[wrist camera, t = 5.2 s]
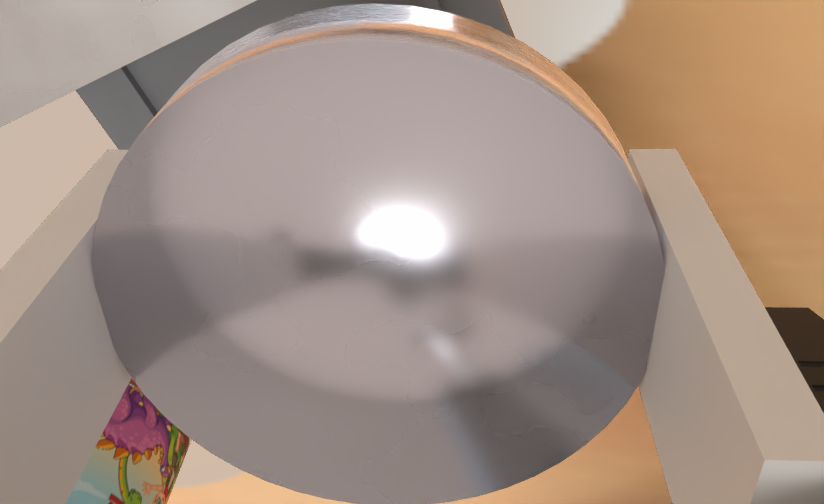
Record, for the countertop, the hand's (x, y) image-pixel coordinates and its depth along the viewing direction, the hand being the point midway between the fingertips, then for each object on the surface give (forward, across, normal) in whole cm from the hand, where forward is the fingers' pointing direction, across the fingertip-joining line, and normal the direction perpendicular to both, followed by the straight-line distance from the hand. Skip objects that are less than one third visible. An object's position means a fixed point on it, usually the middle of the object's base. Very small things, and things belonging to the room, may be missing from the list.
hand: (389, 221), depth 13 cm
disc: (-1, 0, 0) cm, 1 cm away
